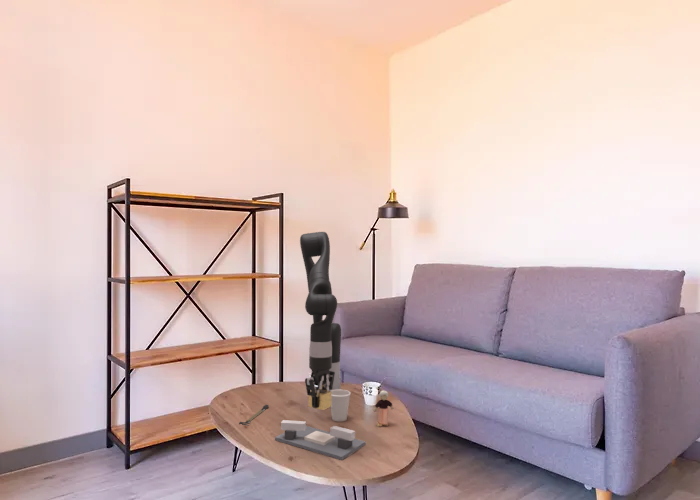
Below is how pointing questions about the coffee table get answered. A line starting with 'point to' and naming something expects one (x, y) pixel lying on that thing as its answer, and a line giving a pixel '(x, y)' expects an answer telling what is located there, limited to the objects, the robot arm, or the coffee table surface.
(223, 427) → the coffee table surface
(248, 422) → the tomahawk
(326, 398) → the yellow plus-sign block
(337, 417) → the dixie cup
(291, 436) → the lever control panel
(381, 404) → the grandmother figurine
